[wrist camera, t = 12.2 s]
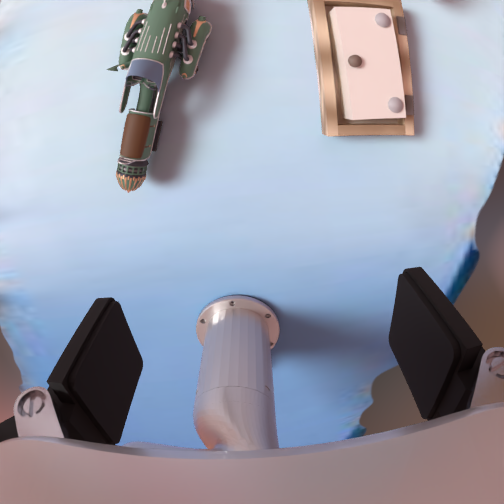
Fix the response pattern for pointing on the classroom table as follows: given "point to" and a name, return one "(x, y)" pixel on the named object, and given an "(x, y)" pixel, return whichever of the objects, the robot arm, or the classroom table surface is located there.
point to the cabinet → (330, 104)
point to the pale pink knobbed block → (366, 63)
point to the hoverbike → (153, 77)
